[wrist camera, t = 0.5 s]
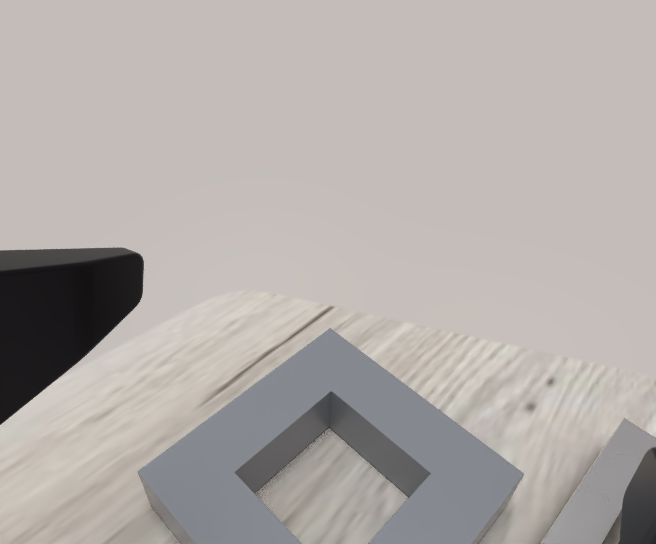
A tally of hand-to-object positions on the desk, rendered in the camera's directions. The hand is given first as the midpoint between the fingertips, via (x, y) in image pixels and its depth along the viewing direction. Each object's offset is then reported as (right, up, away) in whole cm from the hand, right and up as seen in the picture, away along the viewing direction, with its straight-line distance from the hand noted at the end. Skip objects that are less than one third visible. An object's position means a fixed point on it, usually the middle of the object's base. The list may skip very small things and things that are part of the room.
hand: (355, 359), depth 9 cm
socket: (0, -9, +15) cm, 17 cm away
